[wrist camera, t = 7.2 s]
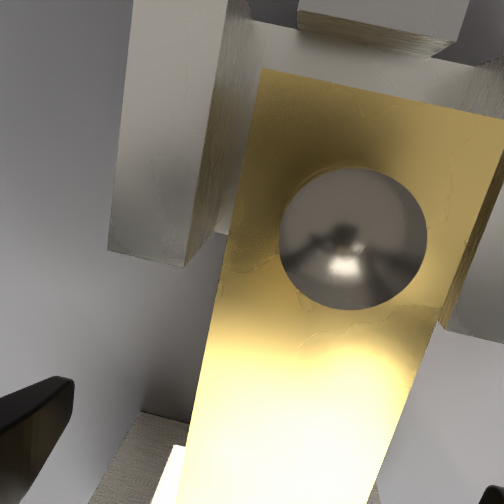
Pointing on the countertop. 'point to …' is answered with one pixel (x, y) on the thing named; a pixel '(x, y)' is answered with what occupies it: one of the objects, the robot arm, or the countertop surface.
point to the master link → (329, 288)
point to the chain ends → (234, 144)
